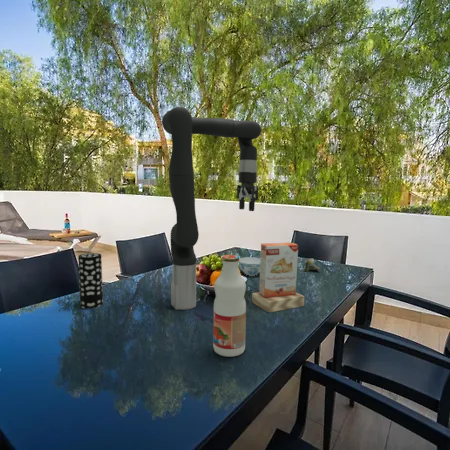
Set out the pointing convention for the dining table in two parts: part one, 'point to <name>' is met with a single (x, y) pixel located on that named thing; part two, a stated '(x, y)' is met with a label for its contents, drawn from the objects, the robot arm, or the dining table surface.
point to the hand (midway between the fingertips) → (246, 210)
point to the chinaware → (250, 265)
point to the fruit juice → (229, 309)
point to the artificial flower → (313, 267)
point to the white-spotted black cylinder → (90, 280)
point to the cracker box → (278, 269)
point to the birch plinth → (277, 302)
